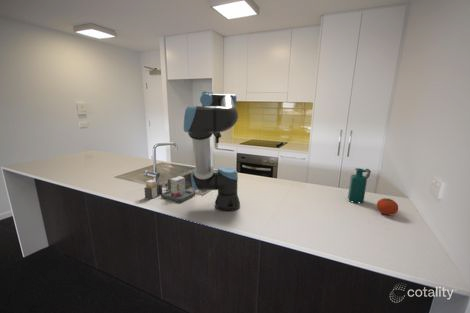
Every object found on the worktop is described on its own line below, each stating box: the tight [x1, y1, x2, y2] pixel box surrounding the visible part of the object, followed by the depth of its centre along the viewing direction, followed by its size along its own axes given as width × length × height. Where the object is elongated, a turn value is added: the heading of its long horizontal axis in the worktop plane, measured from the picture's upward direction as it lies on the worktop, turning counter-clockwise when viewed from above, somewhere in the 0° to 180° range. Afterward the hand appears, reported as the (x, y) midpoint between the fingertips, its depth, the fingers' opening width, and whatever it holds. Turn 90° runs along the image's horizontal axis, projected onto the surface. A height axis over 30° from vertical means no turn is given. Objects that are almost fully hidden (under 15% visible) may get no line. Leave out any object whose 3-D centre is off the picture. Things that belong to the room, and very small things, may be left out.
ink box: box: [170, 175, 186, 197], centre depth 143 cm, size 9×5×12 cm, turn 151°
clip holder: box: [144, 178, 172, 200], centre depth 147 cm, size 5×21×11 cm, turn 151°
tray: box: [160, 189, 196, 204], centre depth 144 cm, size 17×14×3 cm
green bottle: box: [347, 167, 372, 204], centre depth 140 cm, size 10×8×22 cm
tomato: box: [376, 197, 399, 216], centre depth 124 cm, size 10×10×10 cm
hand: (208, 146), depth 150 cm, fingers open, 13 cm apart
